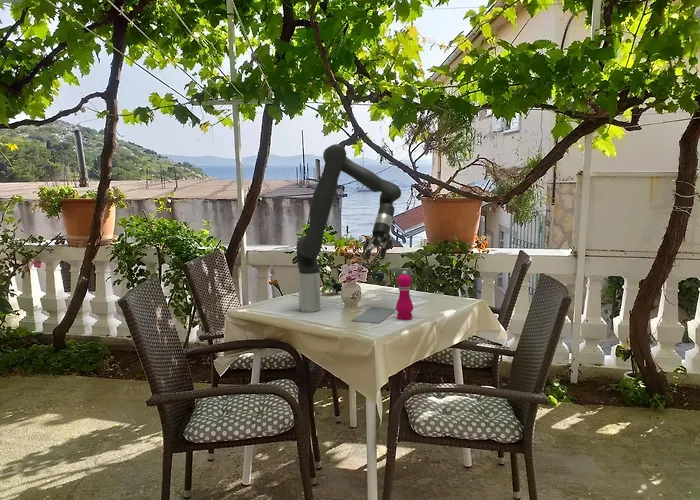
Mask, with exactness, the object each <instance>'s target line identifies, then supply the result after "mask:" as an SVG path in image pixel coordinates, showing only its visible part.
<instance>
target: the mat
mask: <svg viewBox="0 0 700 500" xmlns="http://www.w3.org/2000/svg"><path fill="white" fill-rule="evenodd" d="M395 312H397V310H396V308H392V307H380V306H371V307H369V308H368V309H366V310H365V311H363V312H362V313H361V314H359V315H357V316H355V318H353V319H351V322H355V321H359V322H358V323H365V322H370V323H369V324H376V323H378V324H379V323H380V324H381V323H382V322H383V321H384V320H386V319H388V317H390V316H391V315H392V314H393V313H395ZM380 324H379V325H380Z"/></svg>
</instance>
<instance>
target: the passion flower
mask: <svg viewBox="0 0 700 500" xmlns="http://www.w3.org/2000/svg"><path fill="white" fill-rule="evenodd" d="M339 278H340V277H339V276H336V275H335V276H334V275H333V276H332V277H331V278H325V279H324V282H323V283H324V284H323V286H322V288H321V289H320V294H322V295H324V294H325V292H326V291H328V293H329V294H331V293H332V295H331V297H333V296H334V294H335V293H336V294H338V293H341V290H342V289H341V287H342V283H343V282H342V283H340V282H339ZM331 291H332V292H331Z"/></svg>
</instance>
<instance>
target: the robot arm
mask: <svg viewBox="0 0 700 500" xmlns="http://www.w3.org/2000/svg"><path fill="white" fill-rule="evenodd" d="M322 157H323V161H324V166H323V171H322V173H321V177H320V178H319V181H318V183H317V184H316V187H315V189H314V192H313V194H312V198H311V202H310V206H309V207H310V208H309V225H308V228H307V232H306V235H304V236H301V237H300V238H299V239H298V240H297V242H296V264H297V267H298V275H299V276H298V277H299V278H298V281H299V286H298V287H299V288H298V308H299V309H298V310H299V311H300V312H302V313H304V312H305V313H306V312H307V313H311V312H312V313H314V312H318V311H320V310H322V308H321V304H322V303H321V293H320V291H321V274H320V272H321V271H320V265H319V263H318V260H317V259H318V258H317V256H318V255H319V254H320V252H321V251H322V245H323V239H324V234H325V230H326V226H327V222H328V220H329V216H330V213H331V209H332V207H333V202H334V199H335V195H336V190H337V187H338V181H339V177H340V175H341V172H343V173H345V174H346V175H348V176H349V177H351V178H353V179H354V180H356V181H357V182H358V183H359V184H361V185H363V186H364V187H365V188H367V189H369V190H370V191H372V192H374V193H378V192H381V193H380V195H379V208H378V211H377V215H376V217H375V220H374V221H375V222H374V224H373V228H372V232H371V233H372V237H370V238H369V237H368V236H367V237H366V238H365V242H364V244H363V248H362V249H363V250H364V252H365V254H364V258H365V259H366V260H368V261H369V260H370V257H371V254H372V253H371V252H372V251H373V250H375V249H376V248H378V247H381V249H380V254H379V257H380V259H385V257H386V253H387V251H388V250H390V249H392V245H393V241H394V240H393V239H394V237H393V236H392V234H390V232H391V229H392V224H393V219H394V215H395V207H394V205H393V204H394V202H395V201H398V199H400V198H401V196H402V190H401V188H400V187H399V185H397V184H395V183H393V182H391V181H388V180H386V179H384V178H381V177H379V175H377V173H374V172H373V171H371V170H369V169H367V168H366V167H364V166H361V165H360V164H358V163H356V162H354V161H352V160H351V159H350V158H348V156H347V151H346V148H345V147H344V146H343V145H342V144H339V143H334V144H332V145H329V146H328V147H326V148H325V149H324V150H323V153H322Z"/></svg>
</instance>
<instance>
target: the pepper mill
mask: <svg viewBox="0 0 700 500" xmlns="http://www.w3.org/2000/svg"><path fill="white" fill-rule="evenodd" d="M401 273H402V274H400V275H399V276H398V277H397V279H396V280H397V281H396V283H397V284H398V290H399V294H398V295H399V296H398V299H397V301H396V304H395V309H396V312H397V313H396V318H397V319H398V320H402V321H403V320H404V321H407V320H411V319H412V318H413V313H412V312H413V310H414V305H413V301H412V299H411V295H410V291H411V284H412V281H413V279H412V277H411V276H410V275H409V274H407V271H406V270H403V271H402V272H401Z"/></svg>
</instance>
